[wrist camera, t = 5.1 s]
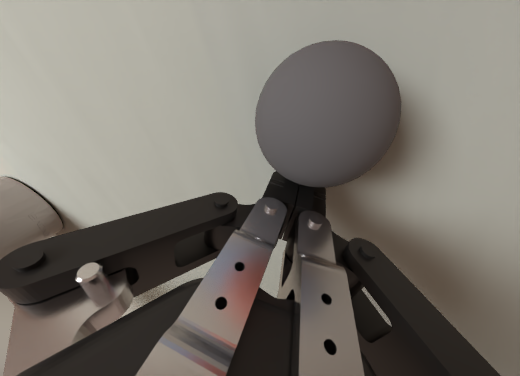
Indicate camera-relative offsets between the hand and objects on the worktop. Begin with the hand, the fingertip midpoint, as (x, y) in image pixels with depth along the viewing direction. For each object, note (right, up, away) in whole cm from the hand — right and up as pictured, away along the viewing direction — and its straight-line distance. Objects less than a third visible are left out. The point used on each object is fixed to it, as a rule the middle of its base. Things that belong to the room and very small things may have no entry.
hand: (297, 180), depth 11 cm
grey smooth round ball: (0, +2, -3) cm, 4 cm away
